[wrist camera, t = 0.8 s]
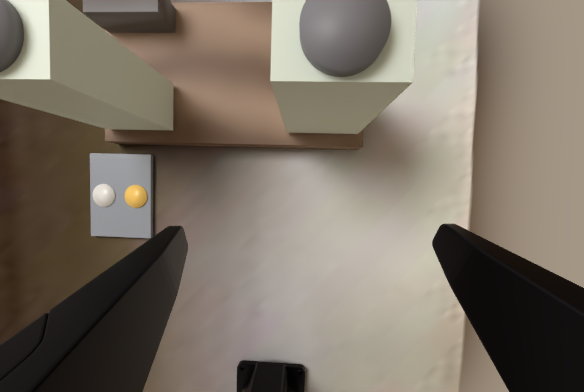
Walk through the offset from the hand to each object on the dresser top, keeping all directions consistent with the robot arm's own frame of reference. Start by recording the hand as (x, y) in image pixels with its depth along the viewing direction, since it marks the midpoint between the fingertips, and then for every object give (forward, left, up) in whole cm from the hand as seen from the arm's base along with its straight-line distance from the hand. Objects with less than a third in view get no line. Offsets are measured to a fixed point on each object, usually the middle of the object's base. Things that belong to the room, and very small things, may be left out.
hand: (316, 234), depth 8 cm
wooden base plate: (+11, +7, -14) cm, 19 cm away
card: (0, +18, -14) cm, 23 cm away
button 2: (+8, +15, -12) cm, 21 cm away
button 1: (+8, -1, -12) cm, 15 cm away
